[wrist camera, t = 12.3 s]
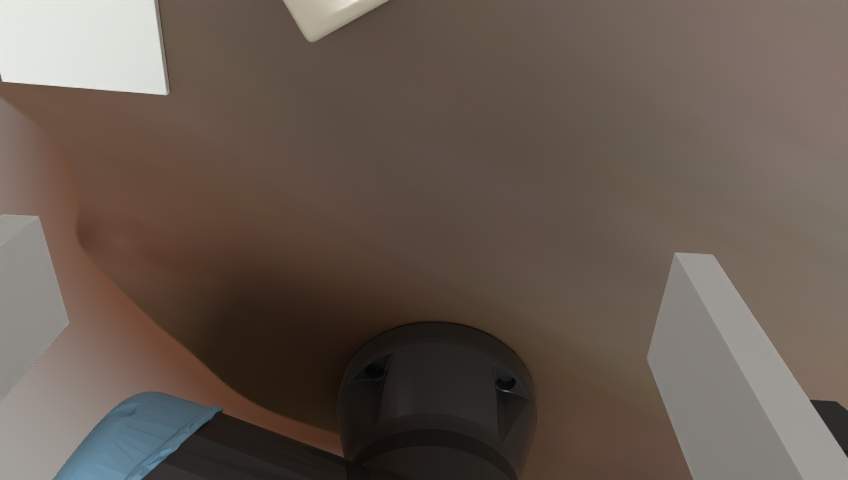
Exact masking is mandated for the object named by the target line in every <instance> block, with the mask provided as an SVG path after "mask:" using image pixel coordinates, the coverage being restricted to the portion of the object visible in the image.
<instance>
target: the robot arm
mask: <svg viewBox="0 0 848 480" xmlns="http://www.w3.org/2000/svg"><path fill="white" fill-rule="evenodd" d="M68 324H69V320H68V317H67V313H66V310H65V306H64V303H63V299H62V296H61V292H60V289H59V285H58V282H57V278H56V275H55V271H54V268H53V264H52V261H51V257H50V254H49V250H48V247H47V243H46V240H45V236H44V233H43V229H42V226H41V223H40V219H39V216H26V215H9V214H2V215H1V216H0V402H1V401H2V400H3V398H4V397H5V396H6V395H7V394H8V393H9V392H10V390H11V389H12V388H13V387H14V386H15V385H16V384H17V382H18V381H19V380H20V379H21V378H22V377H23V376H24V374H25V373H26V372H27V371H28V370H29V369H30V368H31V366H32V365H33V364H34V363H35V362H36V361H37V360H38V358H39V357H40V356H41V355H42V354H43V353H44V352H45V350H46V349H47V348H48V347H49V346H50V345H51V344H52V343H53V341H54V340H55V339H56V338H57V337H58V336H59V334H60V333H61V332H62V331H63V330H64V329H65V328H66V326H67V325H68ZM647 360H648V363H649V366H650V368H651V371H652V373H653V376H654V379H655V381H656V384H657V386H658V389H659V392H660V394H661V397H662V399H663V402H664V405H665V407H666V410H667V413H668V415H669V418H670V420H671V423H672V426H673V428H674V431H675V433H676V436H677V439H678V441H679V444H680V446H681V449H682V452H683V454H684V457H685V459H686V462H687V465H688V467H689V470H690V472H691V475H692V478H693V480H848V411H847V410H846V409H845V408H844V407H842V406H841V405H840V404H839V403H837V402H835V401H819V400H809V399H808V397H807V396H806V394H805V393H804V391H803V390H802V388H801V387H800V385H799V384H798V382H797V381H796V379H795V378H794V376H793V375H792V373H791V372H790V370H789V369H788V367H787V366H786V364H785V363H784V361H783V360H782V358H781V357H780V355H779V354H778V352H777V351H776V349H775V348H774V346H773V345H772V343H771V342H770V340H769V339H768V337H767V336H766V334H765V333H764V331H763V330H762V328H761V326H760V325H759V323H758V322H757V320H756V319H755V317H754V316H753V314H752V313H751V311H750V310H749V308H748V307H747V305H746V304H745V302H744V301H743V299H742V298H741V296H740V295H739V293H738V292H737V290H736V289H735V287H734V286H733V284H732V283H731V281H730V280H729V278H728V277H727V275H726V274H725V272H724V271H723V269H722V268H721V266H720V265H719V263H718V262H717V260H716V259H715V257H714V256H713V255H711V254H693V253H676V252H675V253H674V257H673V261H672V265H671V269H670V272H669V276H668V280H667V284H666V287H665V291H664V295H663V299H662V303H661V306H660V310H659V314H658V318H657V322H656V325H655V329H654V333H653V337H652V340H651V344H650V348H649V352H648V356H647ZM222 411H223V408H220V407H218V406H214V407H210V408H209V407H206V406H203V405H200V404H197V403H193V402H190V401H187V400H184V399H181V398H178V397H174V396H171V395H168V394H165V393H161V392H143V393H139V394H136V395H133V396H131V397H129V398H127V399H126V400H124V401H122V402H121V403H120V404H118V405H117V406H116V407H115V408H113V409H112V410H111V411H110V412H109V413H108V414H107V415H106V416H105V417H104V418H103V419H102V420H101V421H100V422H99V423H98V424H97V425H96V426H95V428H94V429H93V430H92V431H91V432H90V433H89V434H88V435H87V437H86V438H85V439H84V440H83V441H82V443H81V444H80V445H79V446H78V447H77V449H76V450H75V451H74V453H73V454H72V455H71V456H70V458H69V459H68V460H67V462H66V463H65V464H64V465H63V467H62V468H61V469H60V471H59V472H58V473H57V475H56V476H55V477H54V479H53V480H520V479H521V476H522V473H523V469H524V466H525V463H526V460H527V456H528V453H529V450H530V447H531V443H532V440H533V437H534V433H535V429H536V421H537V410H536V402H535V394H534V387H533V383H532V380H531V377H530V375H529V373H528V371H527V369H526V367H525V366H524V364H523V363H522V361H521V360H520V359H519V358H518V357H517V356H516V355H515V354H514V353H513V352H512V351H511V350H510V349H509V348H508V347H507V346H505V345H504V344H503V343H501V342H500V341H498V340H496V339H495V338H493V337H491V336H489V335H487V334H485V333H483V332H480V331H478V330H475V329H472V328H469V327H465V326H461V325H455V324H448V323H419V324H412V325H407V326H403V327H399V328H396V329H393V330H390V331H387V332H385V333H383V334H381V335H379V336H377V337H375V338H374V339H372V340H371V341H369V342H368V343H366V344H365V345H364V346H363V347H362V348H361V349H360V350H358V351H357V353H356V354H355V355H354V356H353V357H352V359H351V360H350V362H349V363H348V365H347V367H346V369H345V371H344V374H343V377H342V381H341V385H340V389H339V393H338V398H337V406H336V417H337V424H338V429H339V435H340V440H341V445H342V450H343V455H344V458H343V457H340V456H337V455H334V454H332V453H329V452H326V451H324V450H321V449H318V448H315V447H313V446H310V445H307V444H305V443H302V442H299V441H297V440H294V439H291V438H288V437H286V436H283V435H280V434H278V433H275V432H272V431H269V430H267V429H264V428H261V427H259V426H256V425H253V424H251V423H248V422H245V421H243V420H240V419H237V418H234V417H232V416H229V415H226V414H224V413H222Z"/></svg>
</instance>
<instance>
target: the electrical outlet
mask: <svg viewBox="0 0 848 480" xmlns="http://www.w3.org/2000/svg"><path fill="white" fill-rule="evenodd" d="M283 1H284V3H285V5H286V6H287V8H288V10H289V11H290V13H291V15H292V16H293V18H294V20H295V21H296V23H297V25H298V26H299V28H300V30H301V31H302V33H303V35H304V36H305V38H306V39H307V40H308V41H309V42H316V41H317V40H319V39H321V38H323V37H325V36H326V35H328V34H330V33H332V32H334V31H335V30H337V29H339V28H341V27H343V26H344V25H346V24H348V23H350V22H351V21H353V20H355V19H357V18H359V17H360V16H362V15H364V14H366V13H368V12H369V11H371V10H373V9H375V8H377V7H378V6H380V5H382V4H384V3H386V2H387V1H389V0H283Z"/></svg>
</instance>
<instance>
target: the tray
mask: <svg viewBox="0 0 848 480" xmlns="http://www.w3.org/2000/svg"><path fill="white" fill-rule="evenodd" d="M0 74H1V78H2V81H3V82H15V83H27V84H39V85H51V86H63V87H76V88H88V89H100V90H112V91H124V92H137V93H149V94H161V95H168V94H169V93H170V87H169V80H168V72H167V65H166V57H165V50H164V42H163V35H162V27H161V20H160V12H159V5H158V0H0Z"/></svg>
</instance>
